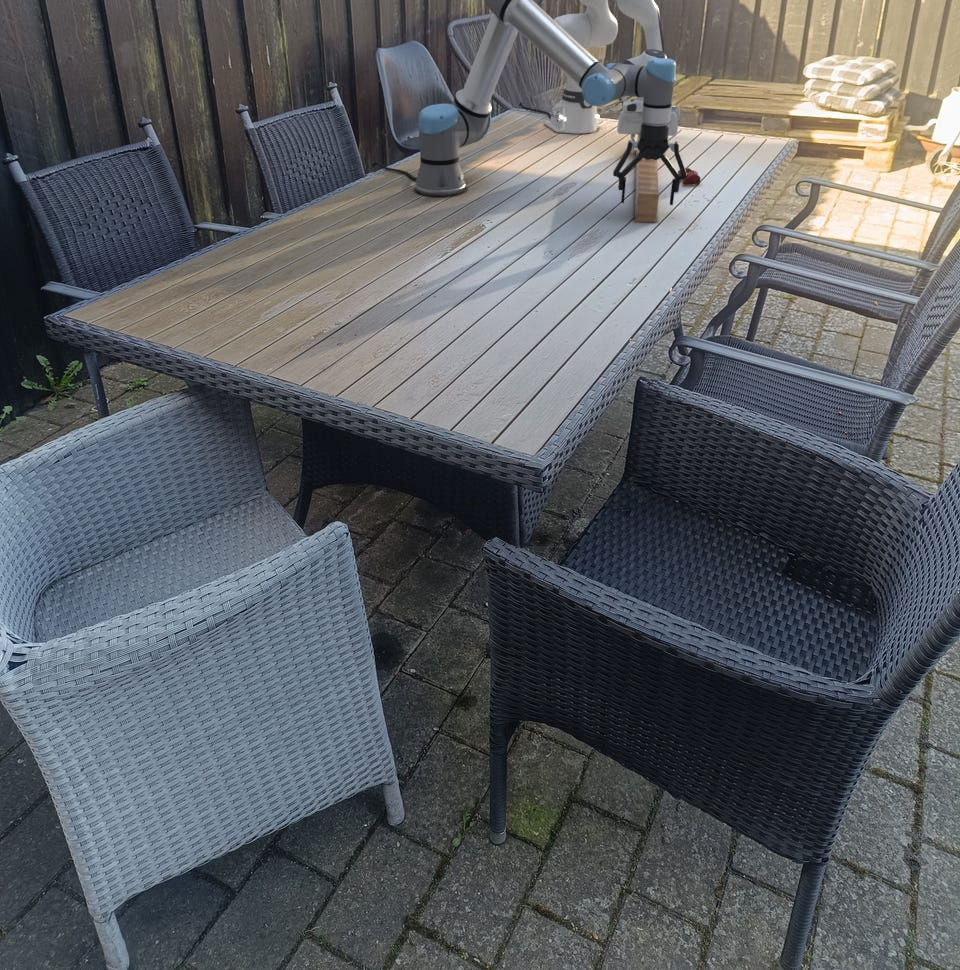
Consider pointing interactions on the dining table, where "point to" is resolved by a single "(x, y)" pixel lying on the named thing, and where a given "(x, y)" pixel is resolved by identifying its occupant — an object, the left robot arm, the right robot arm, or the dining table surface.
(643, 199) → the beam
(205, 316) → the dining table surface
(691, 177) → the dark red lumpy piece
